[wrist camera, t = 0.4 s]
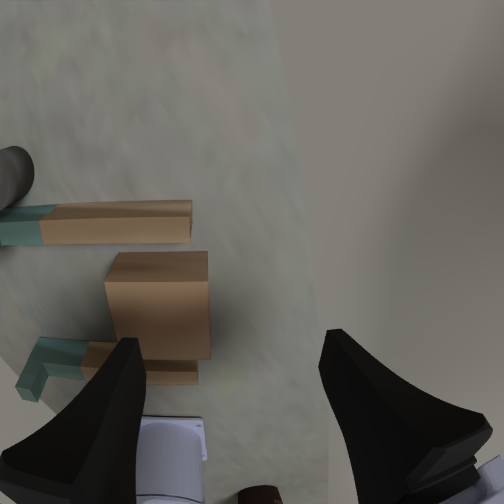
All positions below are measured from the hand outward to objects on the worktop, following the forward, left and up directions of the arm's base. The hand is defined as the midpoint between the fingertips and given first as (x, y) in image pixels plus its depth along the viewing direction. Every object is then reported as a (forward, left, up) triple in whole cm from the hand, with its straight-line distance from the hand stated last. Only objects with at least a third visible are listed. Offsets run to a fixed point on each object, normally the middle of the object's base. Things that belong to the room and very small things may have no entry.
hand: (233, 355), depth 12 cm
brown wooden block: (-4, +4, -10) cm, 12 cm away
